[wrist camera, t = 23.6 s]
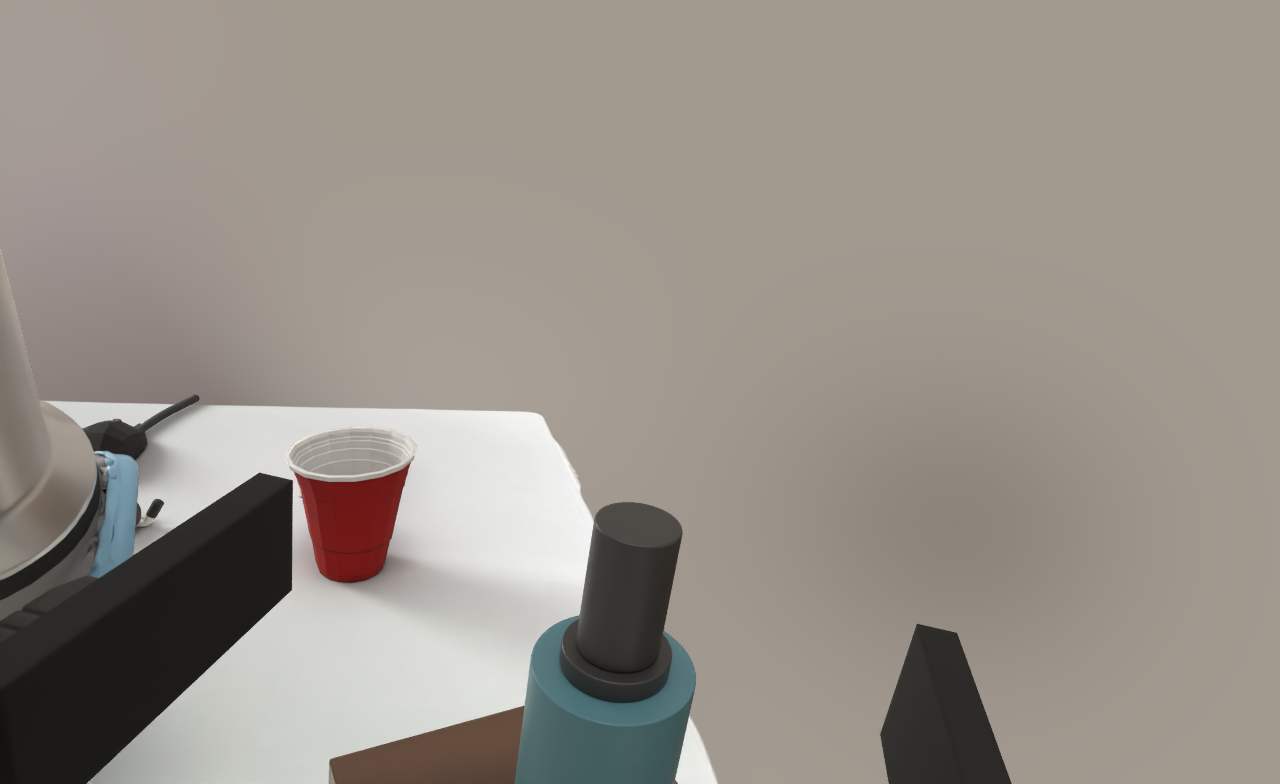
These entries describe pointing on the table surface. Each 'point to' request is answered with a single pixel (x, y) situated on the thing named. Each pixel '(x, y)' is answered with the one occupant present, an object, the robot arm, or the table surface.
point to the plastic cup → (351, 495)
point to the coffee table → (440, 755)
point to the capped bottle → (612, 665)
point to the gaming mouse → (116, 437)
